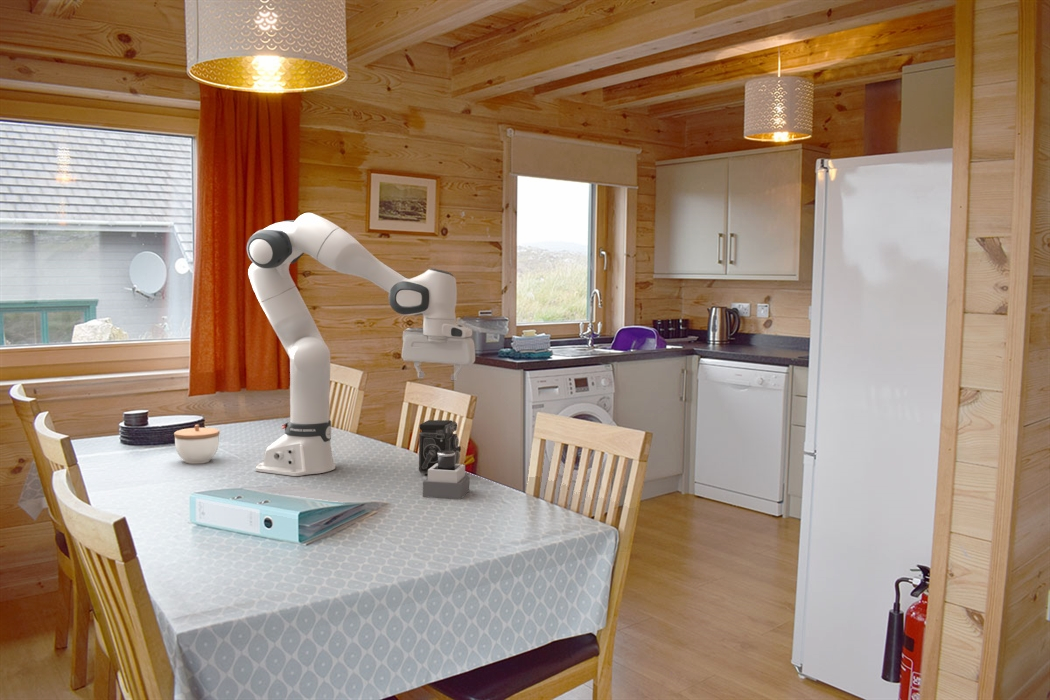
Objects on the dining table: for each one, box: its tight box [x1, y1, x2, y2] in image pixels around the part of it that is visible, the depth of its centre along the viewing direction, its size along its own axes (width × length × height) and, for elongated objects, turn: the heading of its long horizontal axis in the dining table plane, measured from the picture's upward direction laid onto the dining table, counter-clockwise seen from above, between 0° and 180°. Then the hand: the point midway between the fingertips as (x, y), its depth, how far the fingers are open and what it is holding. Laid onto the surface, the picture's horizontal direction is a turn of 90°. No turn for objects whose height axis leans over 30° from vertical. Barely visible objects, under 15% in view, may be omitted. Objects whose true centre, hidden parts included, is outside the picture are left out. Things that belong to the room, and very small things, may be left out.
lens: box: [438, 450, 455, 470], centre depth 209 cm, size 5×5×7 cm
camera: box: [418, 419, 462, 476], centre depth 231 cm, size 10×10×15 cm
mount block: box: [422, 463, 470, 500], centre depth 209 cm, size 10×9×7 cm
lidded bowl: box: [173, 424, 220, 465], centre depth 241 cm, size 13×13×11 cm
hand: (437, 379), depth 219 cm, fingers open, 8 cm apart
